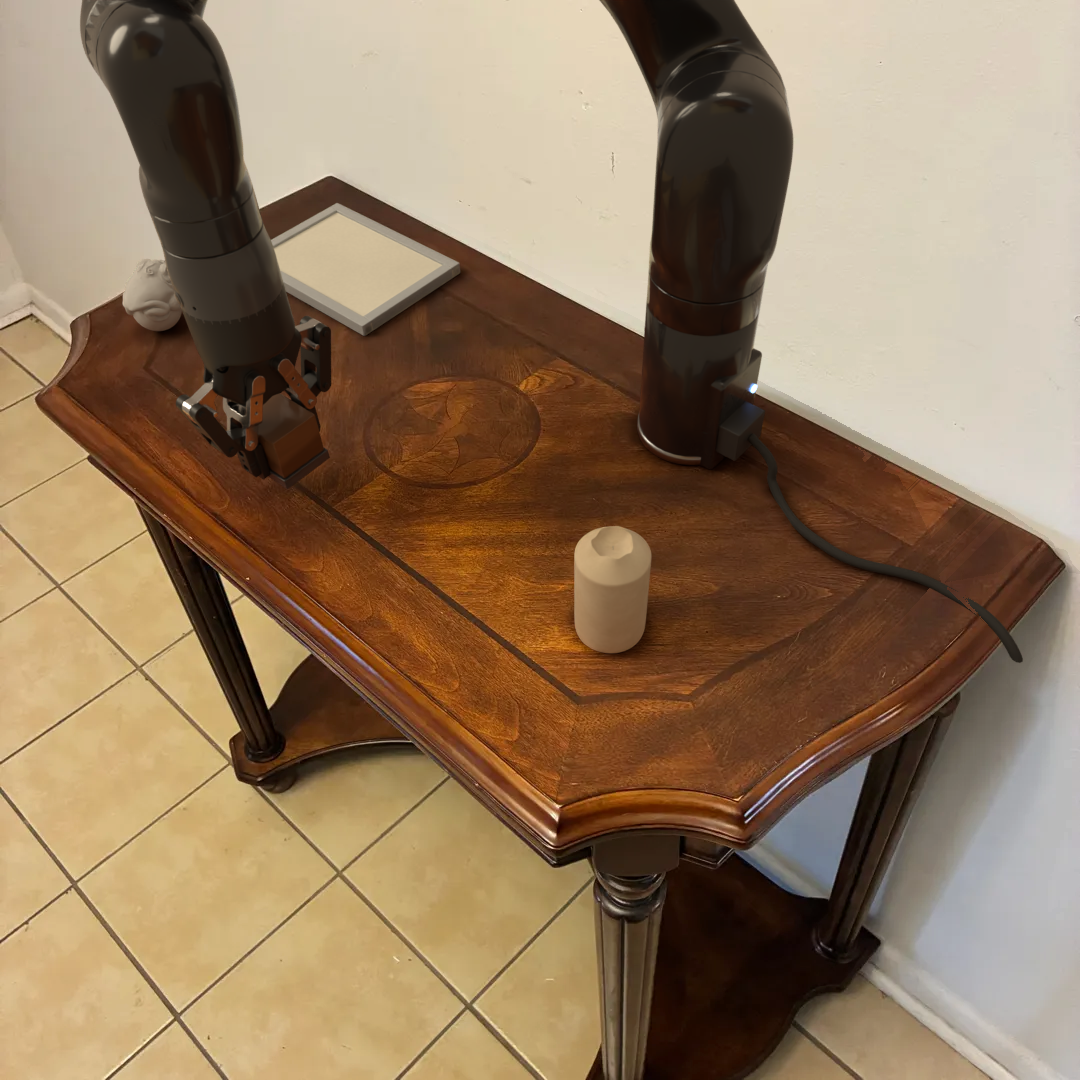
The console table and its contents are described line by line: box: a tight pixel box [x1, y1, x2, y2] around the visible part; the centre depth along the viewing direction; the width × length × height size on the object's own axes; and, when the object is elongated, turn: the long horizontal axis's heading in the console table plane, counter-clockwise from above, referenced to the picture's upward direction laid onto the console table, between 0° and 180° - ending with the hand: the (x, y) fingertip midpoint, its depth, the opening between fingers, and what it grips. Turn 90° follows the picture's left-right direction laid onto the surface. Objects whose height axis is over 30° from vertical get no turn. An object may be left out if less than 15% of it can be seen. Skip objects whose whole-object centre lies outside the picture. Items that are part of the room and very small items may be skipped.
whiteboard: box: [270, 202, 461, 337], centre depth 109 cm, size 20×14×1 cm
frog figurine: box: [122, 258, 183, 332], centre depth 102 cm, size 6×7×7 cm
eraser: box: [258, 393, 331, 490], centre depth 83 cm, size 6×5×5 cm
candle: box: [573, 525, 652, 654], centre depth 73 cm, size 6×6×10 cm
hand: (285, 454), depth 84 cm, fingers closed on eraser, 4 cm apart
